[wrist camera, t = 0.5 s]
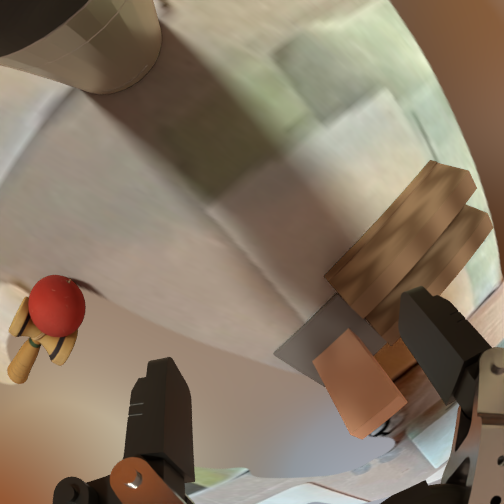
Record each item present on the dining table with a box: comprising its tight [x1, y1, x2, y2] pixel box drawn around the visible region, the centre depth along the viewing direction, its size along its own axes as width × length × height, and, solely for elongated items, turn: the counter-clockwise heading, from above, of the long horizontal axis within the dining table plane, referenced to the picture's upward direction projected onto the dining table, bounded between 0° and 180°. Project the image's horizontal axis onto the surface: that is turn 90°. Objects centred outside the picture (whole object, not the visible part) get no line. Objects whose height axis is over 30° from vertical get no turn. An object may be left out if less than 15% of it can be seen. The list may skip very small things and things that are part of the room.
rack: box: [324, 160, 493, 346], centre depth 31 cm, size 18×9×6 cm, turn 136°
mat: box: [274, 293, 387, 387], centre depth 38 cm, size 10×12×1 cm
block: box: [312, 328, 408, 439], centre depth 32 cm, size 6×2×12 cm, turn 136°
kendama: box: [7, 275, 85, 384], centre depth 28 cm, size 8×6×18 cm
